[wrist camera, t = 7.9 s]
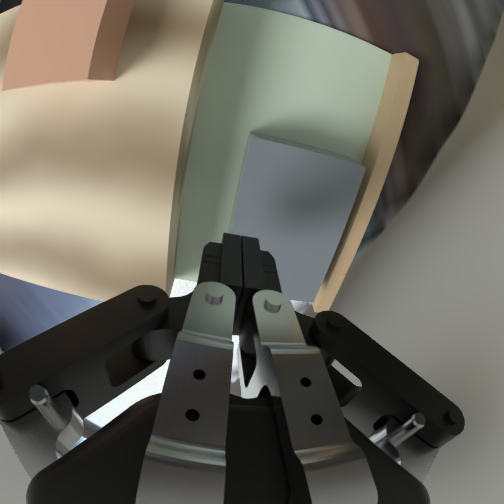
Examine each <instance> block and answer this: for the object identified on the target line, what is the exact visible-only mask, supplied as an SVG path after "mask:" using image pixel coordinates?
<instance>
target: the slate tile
mask: <svg viewBox="0 0 504 504" xmlns="http://www.w3.org/2000/svg"><path fill="white" fill-rule="evenodd" d="M365 170H366V167H365V166H363V165H362V164H360V163H358V162H357V161H355V160H353V159H352V158H350V157H348V156H345V155H342V154H339V153H335V152H332V151H328V150H325V149H321V148H318V147H314V146H311V145H307V144H303V143H299V142H295V141H291V140H287V139H283V138H279V137H274V136H270V135H265V134H261V133H256V132H251V131H249V135H248V140H247V144H246V149H245V153H244V158H243V162H242V167H241V172H240V176H239V181H238V186H237V191H236V195H235V200H234V205H233V210H232V215H231V220H230V225H229V230H228V233H231V234H237V235H240V236H242V235H243V236H248V237H254V238H258V239H259V245H260V250H263V251H269V253H270V254H271V255H272V256H273V257H274V259H275V263H276V268H277V272H278V276H279V281H280V285H281V290H282V294H283V295H285V296H286V297H287V298H288V299H289V300H296V301H306V302H314V300H315V298H316V296H317V293H318V291H319V289H320V287H321V284H322V282H323V280H324V277H325V275H326V273H327V270H328V268H329V266H330V263H331V261H332V258H333V256H334V253H335V251H336V249H337V246H338V244H339V241H340V239H341V236H342V233H343V231H344V228H345V226H346V223H347V220H348V218H349V215H350V212H351V210H352V207H353V204H354V201H355V199H356V196H357V193H358V190H359V187H360V184H361V182H362V179H363V176H364V173H365Z"/></svg>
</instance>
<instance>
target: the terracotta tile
mask: <svg viewBox="0 0 504 504" xmlns="http://www.w3.org/2000/svg"><path fill="white" fill-rule="evenodd" d="M134 1H135V0H23V1H22V4H21V7H20V10H19V13H18V16H17V19H16V22H15V26H14V29H13V33H12V37H11V41H10V45H9V50H8V54H7V59H6V65H5V71H4V77H3V85H2V91H6V90H13V89H20V88H28V87H36V86H44V85H52V84H61V83H73V82H89V81H115V75H116V70H117V65H118V60H119V56H120V51H121V47H122V43H123V39H124V35H125V31H126V27H127V24H128V20H129V17H130V14H131V10H132V7H133V4H134Z"/></svg>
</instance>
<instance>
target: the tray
mask: <svg viewBox="0 0 504 504" xmlns="http://www.w3.org/2000/svg"><path fill="white" fill-rule="evenodd" d="M418 64H419V60H418V59H416V58H415V57H413V56H411V55H409V54H408V53H406V52H404V53H397V54H390V53H388V52H386V51H384V50H382V49H380V48H378V47H376V46H374V45H372V44H370V43H367V42H365V41H363V40H361V39H358V38H356V37H354V36H351V35H349V34H346V33H344V32H341V31H339V30H336V29H333V28H330V27H328V26H325V25H322V24H319V23H316V22H313V21H310V20H306V19H303V18H300V17H296V16H293V15H289V14H285V13H281V12H277V11H273V10H268V9H264V8H259V7H253V6H248V5H242V4H236V3H229V2H224V4H223V7H222V10H221V14H220V17H219V21H218V24H217V28H216V31H215V35H214V39H213V42H212V46H211V50H210V54H209V58H208V62H207V66H206V70H205V75H204V79H203V84H202V88H201V93H200V97H199V102H198V107H197V112H196V117H195V123H194V128H193V134H192V139H191V145H190V151H189V157H188V163H187V170H186V177H185V184H184V191H183V199H182V207H181V215H180V224H179V233H178V243H177V254H176V266H175V278H176V279H182V280H189V281H195V282H197V281H198V275H199V270H200V264H201V258H202V253H203V247H204V246H205V245H206V244H208V243H209V242H216V243H221V242H222V237H223V233H224V232H225V233H228V230H229V225H230V220H231V215H232V210H233V205H234V200H235V195H236V191H237V186H238V181H239V176H240V172H241V167H242V162H243V158H244V153H245V149H246V144H247V140H248V135H249V131H251V132H256V133H261V134H265V135H270V136H274V137H279V138H283V139H287V140H291V141H295V142H299V143H303V144H307V145H311V146H314V147H318V148H321V149H325V150H328V151H332V152H335V153H339V154H342V155H345V156H348V157H350V158H352V159H353V160H355V161H357V162H358V163H360V164H362V165H363V166H365V167H366V170H365V173H364V176H363V179H362V182H361V184H360V187H359V190H358V193H357V196H356V199H355V201H354V204H353V207H352V210H351V212H350V215H349V218H348V220H347V223H346V226H345V228H344V231H343V233H342V236H341V239H340V241H339V244H338V246H337V249H336V251H335V253H334V256H333V258H332V261H331V263H330V266H329V268H328V270H327V273H326V275H325V277H324V280H323V282H322V284H321V287H320V289H319V291H318V293H317V296H316V298H315V300H314V302H312V305H313V309H314V312H321V311H328V310H329V308H330V306H331V304H332V302H333V300H334V298H335V296H336V294H337V292H338V290H339V288H340V286H341V284H342V282H343V280H344V277H345V275H346V273H347V271H348V269H349V267H350V265H351V263H352V260H353V258H354V256H355V254H356V251H357V249H358V247H359V245H360V242H361V240H362V238H363V235H364V233H365V231H366V228H367V226H368V223H369V221H370V218H371V216H372V213H373V211H374V208H375V206H376V203H377V201H378V198H379V195H380V193H381V190H382V187H383V185H384V182H385V179H386V176H387V173H388V171H389V168H390V165H391V162H392V159H393V156H394V153H395V150H396V147H397V143H398V140H399V137H400V134H401V130H402V127H403V124H404V120H405V117H406V113H407V109H408V106H409V102H410V98H411V94H412V90H413V86H414V82H415V77H416V73H417V68H418Z"/></svg>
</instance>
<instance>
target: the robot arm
mask: <svg viewBox="0 0 504 504" xmlns="http://www.w3.org/2000/svg"><path fill="white" fill-rule="evenodd" d="M232 335H239V344H238V348H237V360H238V368H239V376H240V384H241V393H242V396H241V397H239V396H235V395H232V394H230V383H231V371H232V360H233V348H234V343H233V342H232ZM168 359H171V360H170V363H169V367H168V371H167V374H166V378H165V382H164V386H163V390H162V393H159V394H155V395H152V396H149V397H146V398H144V399H141V400H140V401H138V402H136V403H135V404H133V405H132V406H130V407H129V408H128V409H126V410H125V411H124V412H122V413H121V414H120V415H118V416H117V417H116V418H115V419H113V420H112V421H110V422H109V423H108V424H106V425H105V426H104V427H102V428H101V429H100V430H98V431H97V432H96V433H94V434H93V435H91V436H90V437H89V438H87V439H86V440H85V441H83V442H82V443H80V444H79V445H77V446H76V447H75V448H73V449H72V450H71V447H72V446H73V445H74V444H75V443H76V442H77V441H78V440H79V439H80V437H81V436H82V433H83V421H82V419H84V418H85V417H87V416H88V415H90V414H91V413H93V412H94V411H96V410H98V409H99V408H101V407H102V406H104V405H105V404H107V403H108V402H110V401H111V400H113V399H114V398H116V397H117V396H119V395H120V394H122V393H123V392H125V391H126V390H128V389H129V388H130V387H132V386H133V385H135V384H136V383H138V382H139V381H141V380H142V379H144V378H145V377H146V376H148V375H149V374H151V373H152V372H154V371H155V370H156V369H158V368H159V367H161V366H162V365H163V364H164V363H165V362H166V360H168ZM335 359H336V360H337V361H338V362H339V363H341V364H342V365H343V366H344V367H345V368H347V369H348V370H349V371H350V372H351V373H353V374H354V375H355V376H356V377H357V378H359V380H360V381H361V383H362V387H358V386H356V385H354V384H353V383H352V382H350V381H349V380H348V379H347V378H346V377H344V376H343V375H342V374H341V373H340V372H339V371H337V370H336V369H335V368H334V367H333V366H331V364H332V363H333V361H334V360H335ZM0 423H1V425H2V427H3V430H4V432H5V434H6V436H7V438H8V439H9V442H10V444H11V445H12V447H13V449H14V451H15V453H16V454H17V456H18V458H19V460H20V462H21V463H22V465H23V467H24V468H25V470H26V471H27V473H28V475H29V476H30V477H31V479H32V480H31V482H30V484H29V486H28V490H27V494H26V503H27V504H430V498H429V494H428V492H427V490H426V488H425V486H424V485H423V484H422V483H423V481H424V479H425V477H426V475H427V473H428V471H429V469H430V467H431V465H432V463H433V461H434V459H435V457H436V455H437V453H438V450H439V449H440V447H441V446H443V445H444V444H446V443H447V442H449V441H450V440H452V439H453V438H455V437H456V436H457V435H459V434H460V433H461V432H462V431H463V429H464V425H465V421H464V416H463V414H462V412H461V410H460V409H459V408H458V406H456V405H455V404H454V403H453V402H451V401H450V400H449V399H448V398H446V397H445V396H444V395H443V394H441V393H440V392H439V391H437V390H436V389H435V388H434V387H433V386H431V385H430V384H429V383H428V382H426V381H425V380H424V379H423V378H421V377H420V376H419V375H417V374H416V373H415V372H413V371H412V370H411V369H410V368H408V367H407V366H406V365H405V364H404V363H402V362H401V361H400V360H398V359H397V358H396V357H395V356H393V355H392V354H391V353H390V352H388V351H387V350H386V349H384V348H383V347H382V346H381V345H379V344H378V343H377V342H376V341H374V340H373V339H372V338H371V337H369V336H368V335H367V334H365V333H364V332H363V331H362V330H360V329H359V328H358V327H357V326H355V325H354V324H353V323H351V322H350V321H349V320H347V319H346V318H345V317H344V316H342V315H341V314H339V313H336V312H333V311H321V312H319V313H318V314H317V315H316V317H315V318H312V317H309V316H306V315H303V314H300V313H298V312H296V311H294V308H293V305H292V303H291V301H290V300H289V299H288V298H287V297H286V296H285V295H283V294H282V290H281V285H280V281H279V276H278V272H277V268H276V263H275V259H274V257H273V256H272V255H271V254H270V253H269V251H263V250H260V245H259V239H258V238H254V237H248V236H243V235H242V236H240V235H237V234H231V233H225V232H224V233H223V237H222V242H221V243H216V242H209V243H208V244H206V245H205V246H204V247H203V253H202V258H201V264H200V270H199V275H198V281H197V286H196V287H195V288H194V290H193V292H191V293H190V294H188V295H185V296H182V297H172V298H169V297H168V295H167V293H166V292H165V291H164V290H163V289H161V288H159V287H157V286H153V285H139V286H136V287H134V288H132V289H129V290H127V291H125V292H123V293H121V294H119V295H117V296H115V297H113V298H111V299H109V300H107V301H105V302H103V303H101V304H99V305H97V306H95V307H93V308H91V309H89V310H87V311H85V312H83V313H81V314H79V315H77V316H75V317H73V318H71V319H69V320H67V321H65V322H63V323H61V324H59V325H57V326H55V327H53V328H51V329H49V330H47V331H45V332H43V333H41V334H39V335H37V336H35V337H33V338H31V339H29V340H27V341H25V342H23V343H21V344H20V345H18V346H16V347H14V348H12V349H10V350H8V351H6V352H4V353H2V354H1V355H0Z"/></svg>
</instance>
